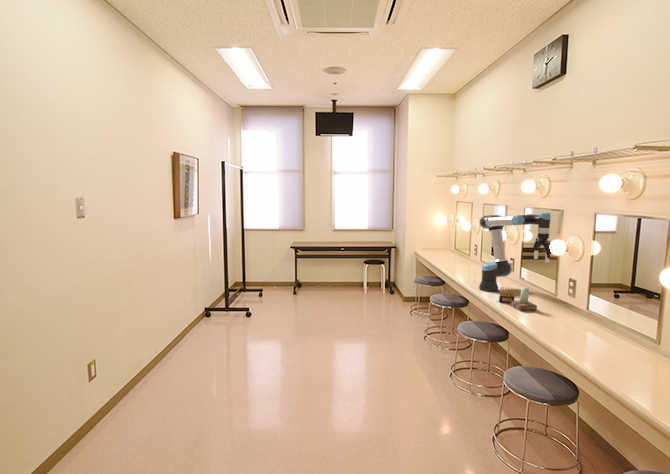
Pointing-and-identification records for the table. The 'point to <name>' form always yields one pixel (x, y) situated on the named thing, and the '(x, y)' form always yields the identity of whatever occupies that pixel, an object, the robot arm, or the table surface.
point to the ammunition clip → (506, 295)
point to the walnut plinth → (524, 306)
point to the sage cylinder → (524, 295)
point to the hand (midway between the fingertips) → (541, 260)
